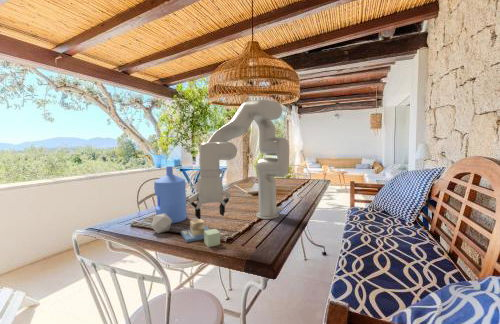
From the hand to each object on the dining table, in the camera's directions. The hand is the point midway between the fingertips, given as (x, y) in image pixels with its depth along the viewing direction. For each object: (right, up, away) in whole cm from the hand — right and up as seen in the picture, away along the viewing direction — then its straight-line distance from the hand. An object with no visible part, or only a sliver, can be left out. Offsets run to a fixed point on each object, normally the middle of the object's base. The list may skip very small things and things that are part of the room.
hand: (210, 216), depth 98 cm
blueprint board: (-7, -11, +10) cm, 17 cm away
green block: (+1, -11, +2) cm, 11 cm away
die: (-25, -10, +15) cm, 31 cm away
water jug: (-26, -9, +32) cm, 42 cm away
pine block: (-7, -9, +10) cm, 16 cm away
